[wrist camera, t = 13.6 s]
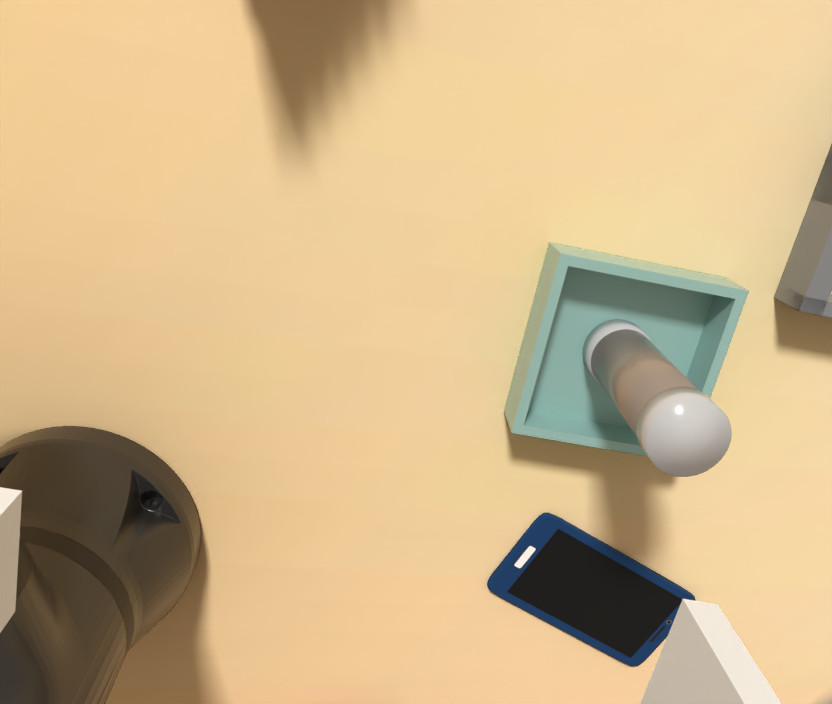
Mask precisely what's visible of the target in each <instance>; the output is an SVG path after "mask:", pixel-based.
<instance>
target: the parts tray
mask: <svg viewBox="0 0 832 704" xmlns="http://www.w3.org/2000/svg"><path fill="white" fill-rule="evenodd" d="M748 292H749V291H748V290H746V289H745V288H743V287H741V286H739V285H738V284H736V283H734V282H732V281H731V280H729V279H727V278H725V277H720V276H715V275H710V274H705V273H700V272H695V271H690V270H685V269H680V268H675V267H670V266H665V265H660V264H655V263H650V262H645V261H640V260H635V259H630V258H625V257H620V256H615V255H610V254H605V253H601V252H596V251H591V250H586V249H581V248H576V247H571V246H566V245H561V244H556V243H551V242H549V245H548V249H547V252H546V256H545V260H544V264H543V267H542V271H541V275H540V279H539V282H538V286H537V290H536V294H535V297H534V301H533V305H532V309H531V312H530V316H529V320H528V324H527V327H526V331H525V335H524V339H523V342H522V346H521V350H520V353H519V357H518V361H517V365H516V368H515V372H514V376H513V380H512V383H511V387H510V391H509V395H508V398H507V402H506V406H505V410H504V413H505V416H506V419H507V422H508V424H509V427H510V430H511V433H515V434H521V435H527V436H533V437H538V438H544V439H550V440H556V441H562V442H567V443H573V444H579V445H585V446H591V447H596V448H602V449H608V450H614V451H619V452H625V453H631V454H637V455H643V456H648V455H647V454H646V452H645V451H644V450H643V448H642V447H641V445H640V443H639V441H638V438H637V436H636V434H635V433H634V432H633V430H632V429H631V427H630V426H629V424H628V423H627V422H626V420H625V419H624V417H623V416H622V414H621V413H620V412H619V410H618V409H617V407H616V406H615V404H614V403H613V402H612V400H611V399H610V397H609V396H608V394H607V393H606V392H605V390H604V389H603V387H602V386H601V384H599V383H598V382H597V381H596V380H595V379H594V377H593V376H592V374H591V373H590V372H589V370H588V369H587V367H586V365H585V363H584V360H583V354H582V351H583V345H584V342H585V340H586V338H587V336H588V335H589V333H590V332H591V331H592V330H593V329H594V328H595V327H597V326H598V325H599V324H601V323H603V322H606V321H609V320H614V319H622V320H627V321H630V322H632V323H634V324H635V325H637V326H638V327H639V328H640V329H641V330H642V331H643V332H644V333H645V334H646V335H647V336H648V337H649V338H650V340H651V341H652V343H653V344H654V345H655V346H656V347H657V348H658V349H659V351H660V352H661V353H662V354H663V355H664V356H665V357H666V358H667V359H668V360H669V361H670V362H671V363H672V364H673V365H674V366H675V367H676V368H677V369H678V370H679V371H680V372H681V373H682V374H683V375H684V376H685V377H686V378H687V379H688V380H689V381H690V382H691V383H692V384H693V385H694V386H695V387H696V388H697V389H698V390H700V391H701V392H703V393H705V394H706V395H707V396H708V397H709V398H710V397H711V394H712V391H713V388H714V386H715V383H716V380H717V377H718V375H719V372H720V369H721V366H722V364H723V361H724V358H725V355H726V353H727V350H728V347H729V344H730V342H731V339H732V336H733V333H734V331H735V328H736V325H737V322H738V320H739V317H740V314H741V311H742V309H743V306H744V303H745V300H746V298H747V295H748Z"/></svg>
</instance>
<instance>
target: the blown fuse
mask: <svg viewBox="0 0 832 704" xmlns="http://www.w3.org/2000/svg"><path fill="white" fill-rule="evenodd" d="M582 354H583V360H584V363H585V365H586V367H587V369H588V370H589V372H590V373H591V374H592V376H593V377H594V379H595V380H596V381H597V382H598V383H599V384H601V386H602V387H603V389H604V390H605V392H606V393H607V394H608V396H609V397H610V399H611V400H612V402H613V403H614V404H615V406H616V407H617V409H618V410H619V412H620V413H621V414H622V416H623V417H624V419H625V420H626V422H627V423H628V424H629V426H630V427H631V429H632V430H633V432H634V433H635V434H636V436H637V438H638V441H639V443H640V445H641V447H642V448H643V450H644V451H645V452H646V454H647V455H648V457H649V458H650V460H651V461H652V462H653V464H654V465H655V466H656V467H657V468H658V469H659V470H661V471H662V472H664V473H666V474H669V475H672V476H677V477H688V476H694V475H698V474H700V473H703V472H705V471H707V470H709V469H710V468H712V467H713V466H714V465H716V464H717V463H718V462H719V461H720V460H721V459H722V457H723V456H724V455H725V453H726V451H727V449H728V447H729V445H730V441H731V432H732V431H731V425H730V422H729V419H728V417H727V416H726V414H725V413H724V412H723V411H722V410H721V409H720V408H719V407H718V406H717V405H716V404H715V403H714V402H713V401H712V400H711V399H710V398H709V397H708V396H707V395H706V394H705V393H703V392H701V391H700V390H698V389H697V388H696V387H695V386H694V385H693V384H692V383H691V382H690V381H689V380H688V379H687V378H686V377H685V376H684V375H683V374H682V373H681V372H680V371H679V370H678V369H677V368H676V367H675V366H674V365H673V364H672V363H671V362H670V361H669V360H668V359H667V358H666V357H665V356H664V355H663V354H662V353H661V352H660V351H659V349H658V348H657V347H656V346H655V345H654V344H653V343H652V341H651V340H650V338H649V337H648V336H647V335H646V334H645V333H644V332H643V331H642V330H641V329H640V328H639V327H638V326H637V325H635V324H634V323H632V322H630V321H627V320H622V319H614V320H609V321H606V322H603V323H601V324H599V325H598V326H597V327H595V328H594V329H593V330H592V331H591V332H590V333H589V335H588V336H587V338H586V340H585V342H584V345H583V351H582Z"/></svg>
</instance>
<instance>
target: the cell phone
mask: <svg viewBox="0 0 832 704" xmlns="http://www.w3.org/2000/svg"><path fill="white" fill-rule="evenodd" d="M487 586H488V588H489V590H490V591H491V592H493V593H494V594H496V595H497V596H499V597H501V598H502V599H504V600H506V601H508V602H510V603H512V604H514V605H516V606H518V607H519V608H521V609H523V610H525V611H527V612H529V613H531V614H533V615H534V616H536V617H538V618H540V619H542V620H544V621H546V622H548V623H550V624H551V625H553V626H555V627H557V628H559V629H561V630H563V631H565V632H566V633H568V634H570V635H572V636H574V637H576V638H578V639H580V640H582V641H583V642H585V643H587V644H589V645H591V646H593V647H595V648H597V649H598V650H600V651H602V652H604V653H606V654H608V655H610V656H612V657H613V658H615V659H617V660H619V661H621V662H623V663H625V664H628V665H630V666H638V665H640V664H641V663H643V662H644V661H645V660H646V659H647V658H648V657H649V656H650V655H651V654H652V652H653V651H654V650H655V649H656V648H657V647H658V646H659V645H660V644H661V643H662V642H663V640H664V639H665V638H666V637H667V636H668V634H669V631H670V629H671V627H672V624H673V622H674V619H675V617H676V614H677V612H678V609H679V607H680V604H681V602H682V599H688V600H694V601H696V600H695V597H694V596H693V595H692V594H691V593H690V592H688V591H687V590H685V589H684V588H682V587H681V586H679V585H677V584H675V583H674V582H672V581H670V580H668V579H667V578H665V577H663V576H661V575H660V574H658V573H656V572H654V571H653V570H651V569H649V568H647V567H646V566H644V565H642V564H640V563H639V562H637V561H635V560H633V559H632V558H630V557H628V556H626V555H625V554H623V553H621V552H619V551H617V550H616V549H614V548H612V547H610V546H609V545H607V544H605V543H603V542H602V541H600V540H598V539H596V538H595V537H593V536H591V535H589V534H588V533H586V532H584V531H582V530H581V529H579V528H577V527H575V526H574V525H572V524H570V523H568V522H566V521H565V520H563V519H561V518H559V517H557V516H555V515H553V514H550V513H543V514H541V515H540V516H539V517H538V518H537V519H536V520H535V521H534V522H533V523H532V524H531V526H530V527H529V528H528V529H527V531H526V532H525V533H524V534H523V536H522V537H521V538H520V539H519V541H518V542H517V543H516V545H515V546H514V547H513V548H512V550H511V551H510V552H509V553H508V555H507V556H506V557H505V558H504V560H503V561H502V562H501V563H500V565H499V566H498V567H497V568H496V570H495V571H494V572H493V573H492V575H491V576H490V578H489V580H488V583H487Z"/></svg>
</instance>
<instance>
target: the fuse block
mask: <svg viewBox="0 0 832 704" xmlns="http://www.w3.org/2000/svg"><path fill="white" fill-rule="evenodd" d="M831 291H832V145H831V148H830V150H829V153H828V156H827V158H826V161H825V164H824V166H823V169H822V172H821V174H820V177H819V180H818V182H817V185H816V187H815V190H814V193H813V195H812V198H811V201H810V203H809V206H808V209H807V211H806V214H805V217H804V219H803V222H802V225H801V227H800V230H799V233H798V235H797V238H796V241H795V243H794V246H793V249H792V251H791V254H790V257H789V259H788V262H787V265H786V267H785V270H784V272H783V275H782V278H781V280H780V283H779V286H778V288H777V291H776V294H775V296H774V298H776V299H778V300H780V301H782V302H783V303H785V304H787V305H789V306H791V307H792V308H794V309H796V310H798V311H800V312H805V313H810V314H815V315H820V316H826V317H831V318H832V294H831Z"/></svg>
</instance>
